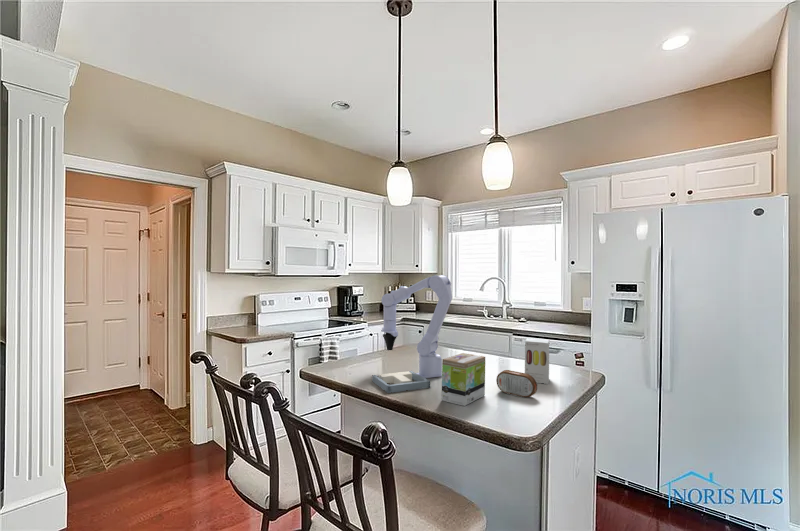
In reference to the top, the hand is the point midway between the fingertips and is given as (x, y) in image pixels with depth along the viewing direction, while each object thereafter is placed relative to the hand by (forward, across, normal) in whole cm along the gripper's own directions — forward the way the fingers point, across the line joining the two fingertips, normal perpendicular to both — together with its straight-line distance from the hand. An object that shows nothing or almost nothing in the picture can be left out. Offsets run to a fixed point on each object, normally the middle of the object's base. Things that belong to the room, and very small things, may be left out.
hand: (389, 349), depth 181 cm
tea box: (+10, +46, +10) cm, 48 cm away
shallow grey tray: (+9, +22, -4) cm, 24 cm away
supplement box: (+10, +38, +51) cm, 64 cm away
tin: (+10, +50, +30) cm, 59 cm away
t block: (+10, +21, -4) cm, 23 cm away
